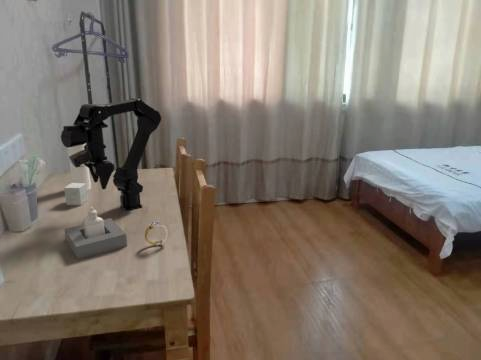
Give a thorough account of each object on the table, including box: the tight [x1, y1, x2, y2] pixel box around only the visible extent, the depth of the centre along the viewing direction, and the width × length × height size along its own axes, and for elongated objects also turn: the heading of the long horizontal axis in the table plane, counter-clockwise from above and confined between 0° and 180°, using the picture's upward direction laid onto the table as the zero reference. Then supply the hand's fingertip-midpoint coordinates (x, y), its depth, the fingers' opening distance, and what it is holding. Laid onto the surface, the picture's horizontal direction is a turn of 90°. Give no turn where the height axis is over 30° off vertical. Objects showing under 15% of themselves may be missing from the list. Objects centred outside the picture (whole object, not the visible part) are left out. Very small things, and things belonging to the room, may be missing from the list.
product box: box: [63, 182, 89, 206], centre depth 153 cm, size 6×6×7 cm
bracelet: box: [144, 220, 169, 247], centre depth 120 cm, size 7×3×8 cm, turn 103°
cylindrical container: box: [67, 143, 92, 191], centre depth 166 cm, size 7×7×25 cm
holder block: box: [64, 217, 128, 260], centre depth 121 cm, size 14×14×4 cm
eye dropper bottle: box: [83, 206, 105, 239], centre depth 120 cm, size 4×6×12 cm
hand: (99, 185), depth 137 cm, fingers open, 9 cm apart
